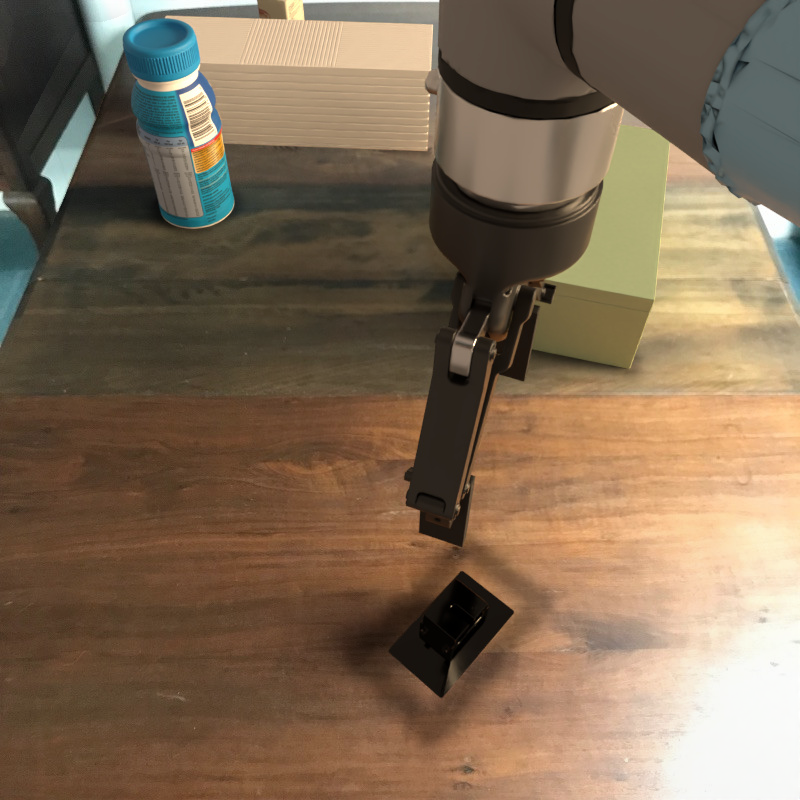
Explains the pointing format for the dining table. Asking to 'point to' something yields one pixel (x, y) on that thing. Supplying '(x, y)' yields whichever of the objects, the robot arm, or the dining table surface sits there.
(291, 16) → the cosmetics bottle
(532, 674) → the dining table surface
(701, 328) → the dining table surface
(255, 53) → the beige ridged block
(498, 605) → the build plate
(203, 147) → the beverage bottle
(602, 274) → the olive green box
